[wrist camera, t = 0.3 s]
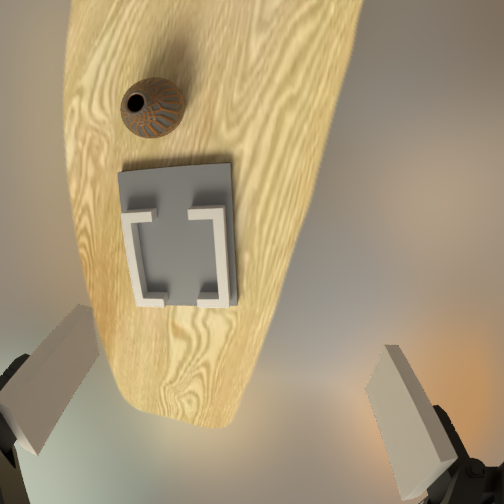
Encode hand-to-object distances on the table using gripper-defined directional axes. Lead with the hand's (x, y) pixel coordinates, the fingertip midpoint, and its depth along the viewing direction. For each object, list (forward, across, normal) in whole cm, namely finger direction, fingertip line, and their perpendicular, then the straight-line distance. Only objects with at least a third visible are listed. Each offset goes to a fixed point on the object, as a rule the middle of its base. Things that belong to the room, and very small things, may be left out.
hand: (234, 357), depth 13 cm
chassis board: (+26, -9, -4) cm, 28 cm away
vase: (+26, -12, +12) cm, 31 cm away
